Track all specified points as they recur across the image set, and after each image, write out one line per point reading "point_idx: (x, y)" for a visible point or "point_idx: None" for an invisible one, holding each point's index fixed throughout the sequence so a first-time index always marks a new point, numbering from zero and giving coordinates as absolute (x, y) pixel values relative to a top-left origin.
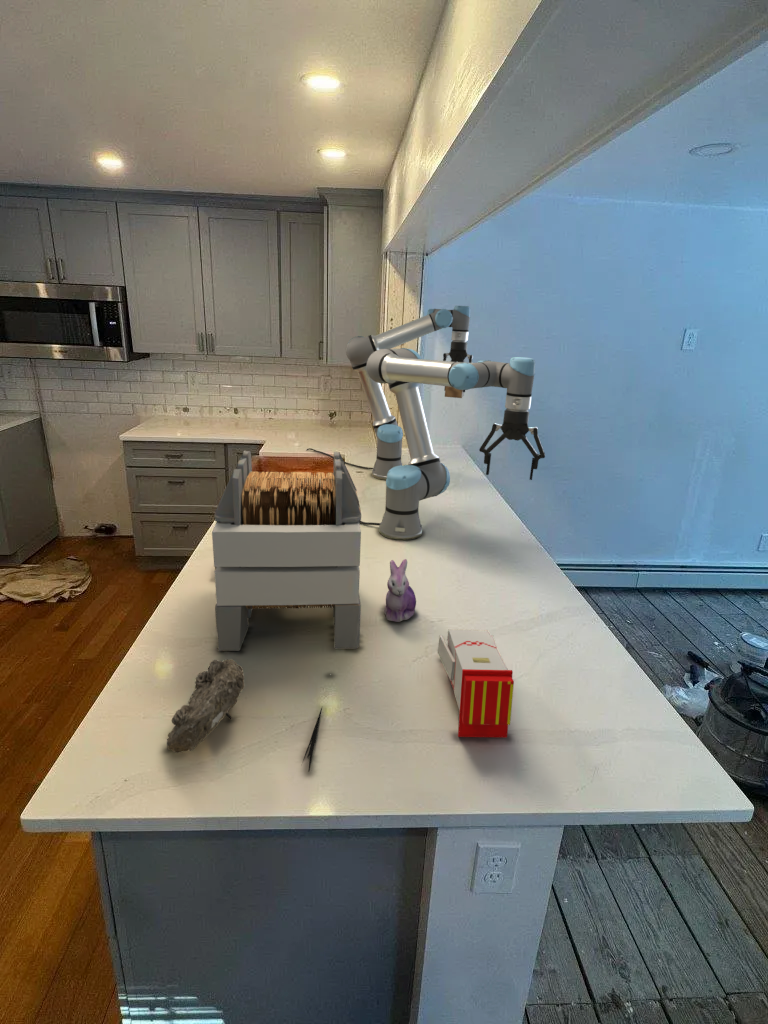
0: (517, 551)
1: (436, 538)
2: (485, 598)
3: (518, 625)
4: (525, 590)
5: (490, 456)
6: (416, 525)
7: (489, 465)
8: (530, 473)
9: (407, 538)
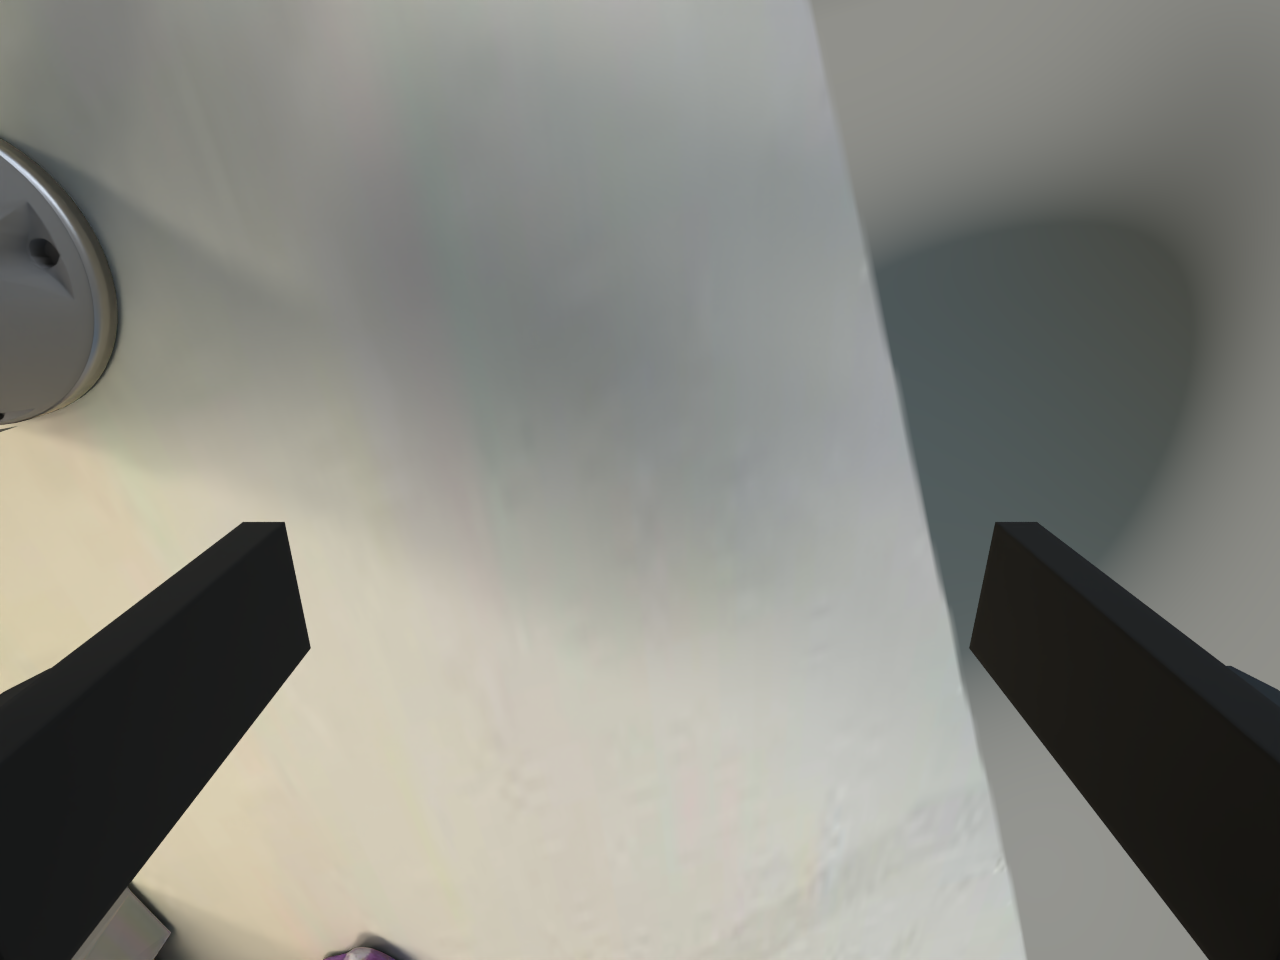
0: (745, 315)
1: (224, 291)
2: (624, 830)
3: (746, 940)
4: (776, 733)
5: (55, 929)
6: (32, 345)
7: (214, 744)
8: (1027, 720)
9: (72, 399)
